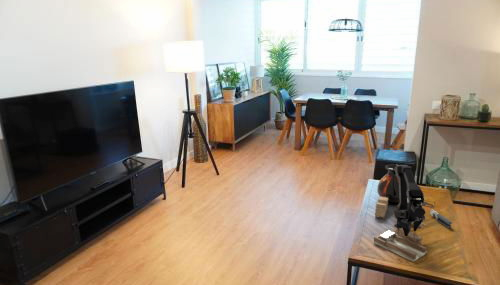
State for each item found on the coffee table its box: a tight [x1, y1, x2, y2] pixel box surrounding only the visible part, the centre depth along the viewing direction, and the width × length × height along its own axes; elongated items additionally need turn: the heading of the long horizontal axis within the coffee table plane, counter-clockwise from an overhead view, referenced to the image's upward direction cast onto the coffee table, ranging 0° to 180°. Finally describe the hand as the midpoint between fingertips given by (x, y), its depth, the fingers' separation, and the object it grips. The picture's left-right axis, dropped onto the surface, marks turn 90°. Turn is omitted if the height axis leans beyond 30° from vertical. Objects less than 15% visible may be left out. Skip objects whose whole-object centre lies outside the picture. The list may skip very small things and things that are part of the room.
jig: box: [373, 230, 428, 263], centre depth 194 cm, size 14×24×4 cm, turn 36°
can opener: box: [429, 208, 453, 229], centre depth 223 cm, size 19×6×5 cm, turn 5°
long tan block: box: [397, 228, 423, 246], centre depth 201 cm, size 5×14×5 cm, turn 18°
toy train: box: [374, 196, 388, 219], centre depth 234 cm, size 6×17×10 cm, turn 151°
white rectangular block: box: [379, 229, 396, 242], centre depth 200 cm, size 9×4×4 cm, turn 128°
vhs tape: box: [421, 201, 435, 209], centre depth 249 cm, size 14×8×2 cm, turn 147°
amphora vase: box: [376, 163, 408, 207], centre depth 248 cm, size 22×22×28 cm
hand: (410, 233), depth 201 cm, fingers open, 9 cm apart
